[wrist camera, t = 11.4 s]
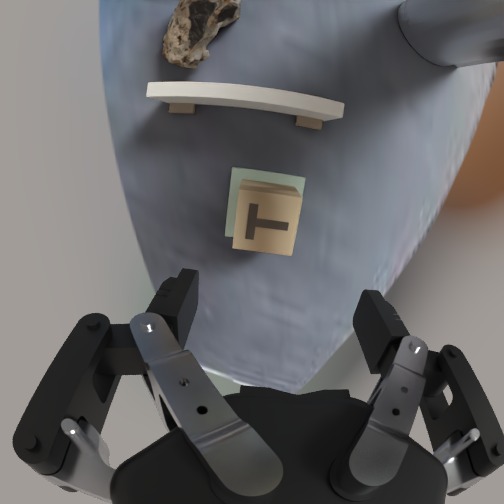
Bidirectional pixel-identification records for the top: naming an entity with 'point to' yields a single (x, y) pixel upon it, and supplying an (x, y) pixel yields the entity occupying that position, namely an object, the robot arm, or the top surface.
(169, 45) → the rock
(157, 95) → the screen
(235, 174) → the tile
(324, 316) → the top surface
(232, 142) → the top surface
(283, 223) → the letter cube
